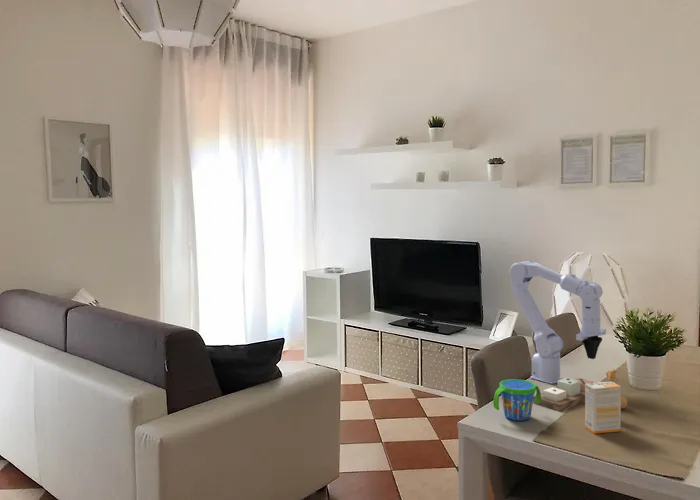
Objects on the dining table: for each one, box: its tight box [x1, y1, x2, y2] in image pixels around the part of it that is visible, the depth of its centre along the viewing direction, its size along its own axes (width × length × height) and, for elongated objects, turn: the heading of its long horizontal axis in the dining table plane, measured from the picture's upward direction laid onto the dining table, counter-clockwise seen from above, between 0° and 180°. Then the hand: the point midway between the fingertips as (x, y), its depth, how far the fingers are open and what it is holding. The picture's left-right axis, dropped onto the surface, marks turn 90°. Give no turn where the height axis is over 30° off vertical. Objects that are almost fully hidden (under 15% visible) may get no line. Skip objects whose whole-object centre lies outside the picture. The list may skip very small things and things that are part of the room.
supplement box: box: [584, 381, 622, 435], centre depth 163 cm, size 8×5×13 cm, turn 97°
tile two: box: [556, 377, 580, 397], centre depth 189 cm, size 5×5×4 cm
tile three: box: [575, 377, 595, 392], centre depth 193 cm, size 5×5×4 cm
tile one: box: [542, 386, 566, 402], centre depth 185 cm, size 5×5×4 cm
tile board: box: [533, 391, 585, 412], centre depth 189 cm, size 24×10×2 cm, turn 125°
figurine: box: [606, 369, 628, 410], centre depth 179 cm, size 8×6×12 cm
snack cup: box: [492, 378, 542, 422], centre depth 174 cm, size 16×10×10 cm
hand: (591, 358), depth 198 cm, fingers closed
